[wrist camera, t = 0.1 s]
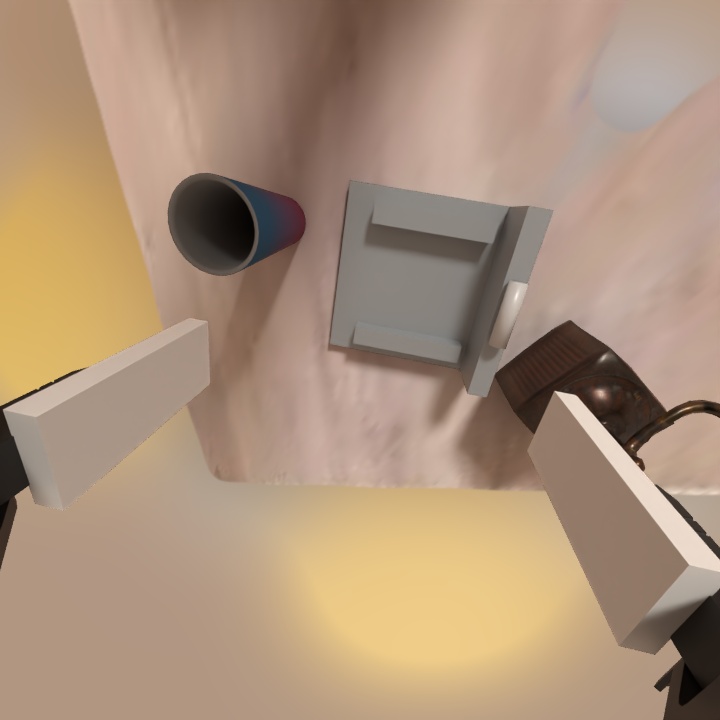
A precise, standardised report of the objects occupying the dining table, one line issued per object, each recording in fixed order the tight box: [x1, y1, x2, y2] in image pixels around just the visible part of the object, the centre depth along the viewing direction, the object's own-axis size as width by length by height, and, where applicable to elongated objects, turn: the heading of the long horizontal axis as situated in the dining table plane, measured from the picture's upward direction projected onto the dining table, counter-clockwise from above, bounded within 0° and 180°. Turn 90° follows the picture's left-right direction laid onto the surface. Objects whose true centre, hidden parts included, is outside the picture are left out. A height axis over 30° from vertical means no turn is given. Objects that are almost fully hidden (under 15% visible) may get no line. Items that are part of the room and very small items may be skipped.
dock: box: [330, 180, 554, 398], centre depth 35 cm, size 18×18×9 cm
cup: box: [168, 173, 306, 276], centre depth 31 cm, size 7×7×15 cm
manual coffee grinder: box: [495, 320, 720, 471], centre depth 32 cm, size 16×11×18 cm
